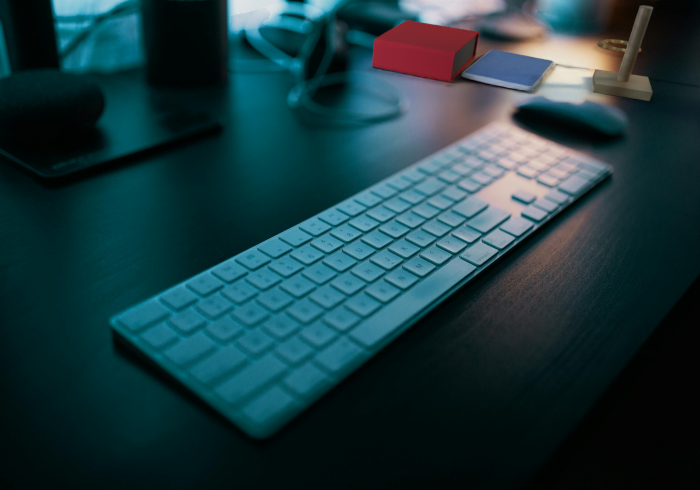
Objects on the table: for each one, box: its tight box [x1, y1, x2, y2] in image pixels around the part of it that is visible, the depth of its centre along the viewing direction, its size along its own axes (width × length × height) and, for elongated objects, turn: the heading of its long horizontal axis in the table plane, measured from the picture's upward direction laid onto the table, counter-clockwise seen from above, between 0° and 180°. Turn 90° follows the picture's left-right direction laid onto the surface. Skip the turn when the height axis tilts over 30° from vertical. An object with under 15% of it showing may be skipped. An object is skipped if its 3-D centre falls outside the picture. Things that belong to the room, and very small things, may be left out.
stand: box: [592, 5, 654, 102], centre depth 98 cm, size 9×9×14 cm
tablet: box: [460, 49, 555, 92], centre depth 105 cm, size 19×13×1 cm, turn 153°
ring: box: [598, 38, 642, 54], centre depth 123 cm, size 8×8×1 cm
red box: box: [371, 19, 480, 83], centre depth 106 cm, size 18×14×5 cm
